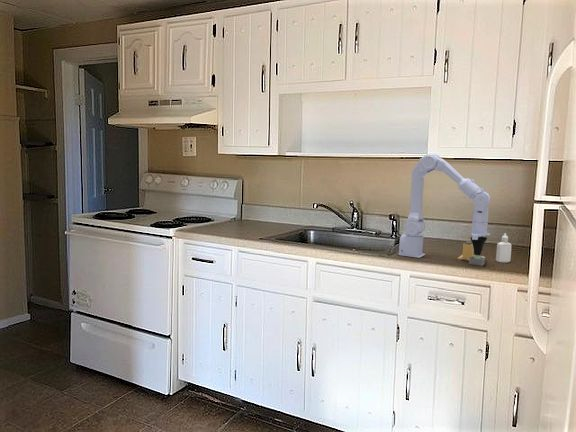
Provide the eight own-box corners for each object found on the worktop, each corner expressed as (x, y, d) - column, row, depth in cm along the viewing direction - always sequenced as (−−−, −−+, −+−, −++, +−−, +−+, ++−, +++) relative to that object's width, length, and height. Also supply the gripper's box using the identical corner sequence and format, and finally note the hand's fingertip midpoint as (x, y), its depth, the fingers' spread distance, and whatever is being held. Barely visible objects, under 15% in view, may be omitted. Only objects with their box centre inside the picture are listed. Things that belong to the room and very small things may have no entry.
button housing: (469, 263, 194) (469, 258, 193) (472, 261, 198) (472, 255, 197) (482, 265, 191) (482, 259, 191) (484, 263, 195) (485, 257, 195)
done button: (472, 262, 194) (473, 255, 193) (474, 261, 196) (474, 254, 196) (479, 263, 192) (480, 256, 192) (481, 262, 195) (481, 255, 194)
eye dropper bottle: (510, 263, 196) (513, 234, 194) (496, 262, 197) (498, 233, 196) (509, 261, 200) (512, 233, 198) (495, 260, 202) (497, 232, 200)
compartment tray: (456, 259, 201) (456, 257, 201) (462, 255, 209) (462, 253, 209) (480, 262, 196) (480, 260, 196) (485, 258, 204) (485, 256, 204)
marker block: (462, 257, 202) (463, 242, 201) (464, 255, 205) (465, 241, 204) (470, 258, 200) (472, 243, 199) (473, 257, 203) (474, 242, 202)
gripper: (486, 224, 184) (483, 259, 186) (494, 220, 196) (491, 253, 198) (467, 223, 188) (465, 256, 190) (476, 218, 200) (473, 250, 202)
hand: (477, 254), depth 194 cm, fingers closed
